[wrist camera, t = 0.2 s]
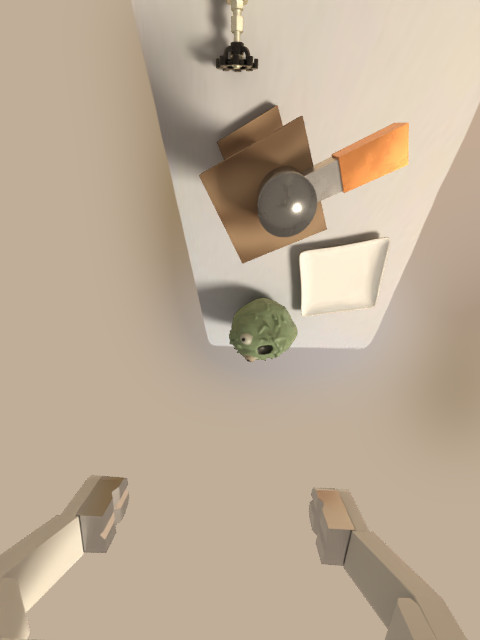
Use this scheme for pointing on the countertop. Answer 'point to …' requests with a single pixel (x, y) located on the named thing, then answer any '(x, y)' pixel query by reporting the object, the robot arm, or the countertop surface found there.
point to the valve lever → (328, 179)
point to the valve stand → (257, 180)
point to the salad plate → (342, 276)
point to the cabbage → (262, 330)
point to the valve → (236, 44)
